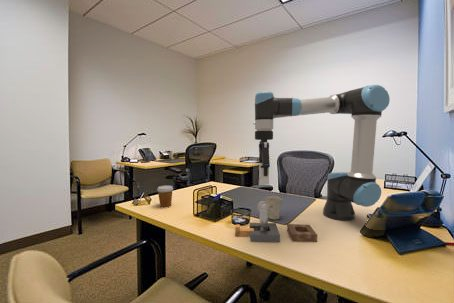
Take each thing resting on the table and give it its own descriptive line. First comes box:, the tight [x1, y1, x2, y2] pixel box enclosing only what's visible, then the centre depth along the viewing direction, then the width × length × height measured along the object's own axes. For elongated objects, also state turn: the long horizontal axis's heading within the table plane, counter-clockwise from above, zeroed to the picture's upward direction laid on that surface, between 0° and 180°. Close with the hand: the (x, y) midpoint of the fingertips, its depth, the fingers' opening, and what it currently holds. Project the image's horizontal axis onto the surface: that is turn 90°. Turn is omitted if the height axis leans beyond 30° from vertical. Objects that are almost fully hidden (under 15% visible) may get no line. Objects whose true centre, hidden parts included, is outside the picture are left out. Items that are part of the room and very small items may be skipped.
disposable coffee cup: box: [156, 185, 174, 208], centre depth 136 cm, size 10×10×12 cm
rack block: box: [286, 223, 318, 243], centre depth 96 cm, size 10×10×3 cm
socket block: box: [248, 222, 281, 243], centre depth 97 cm, size 12×12×3 cm
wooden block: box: [234, 224, 254, 237], centre depth 97 cm, size 8×3×4 cm, turn 86°
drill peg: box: [259, 202, 269, 231], centre depth 96 cm, size 4×4×14 cm
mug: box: [257, 196, 283, 220], centre depth 117 cm, size 8×13×10 cm, turn 78°
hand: (263, 180), depth 95 cm, fingers open, 13 cm apart
